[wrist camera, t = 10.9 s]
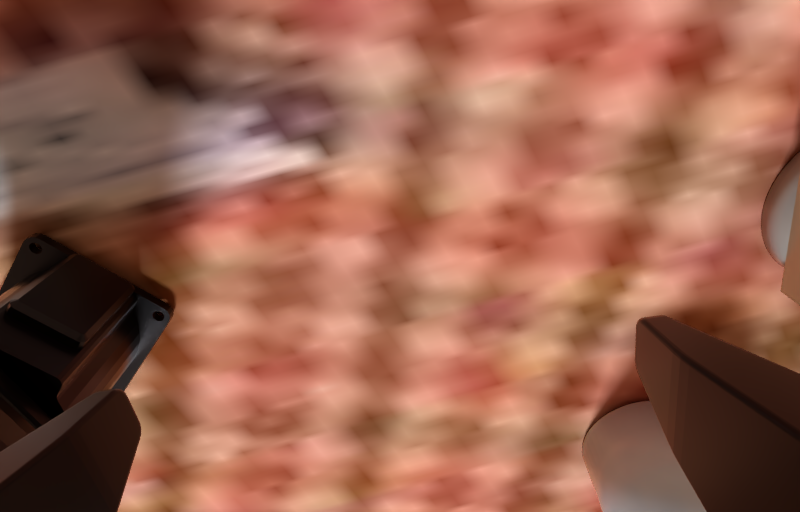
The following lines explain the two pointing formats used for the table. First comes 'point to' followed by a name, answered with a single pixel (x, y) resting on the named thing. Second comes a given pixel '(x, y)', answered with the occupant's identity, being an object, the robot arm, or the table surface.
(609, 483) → the grey rounded cylinder
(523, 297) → the table surface
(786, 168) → the press carafe
